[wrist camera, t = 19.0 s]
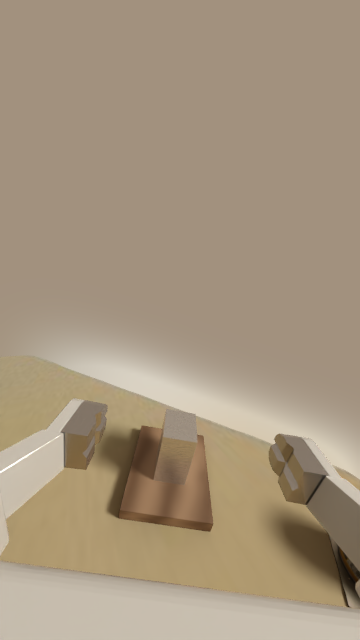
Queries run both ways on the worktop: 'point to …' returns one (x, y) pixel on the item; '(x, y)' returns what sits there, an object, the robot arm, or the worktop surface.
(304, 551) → the worktop surface
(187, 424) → the tall wooden block
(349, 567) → the condiment
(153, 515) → the wooden base with peg
